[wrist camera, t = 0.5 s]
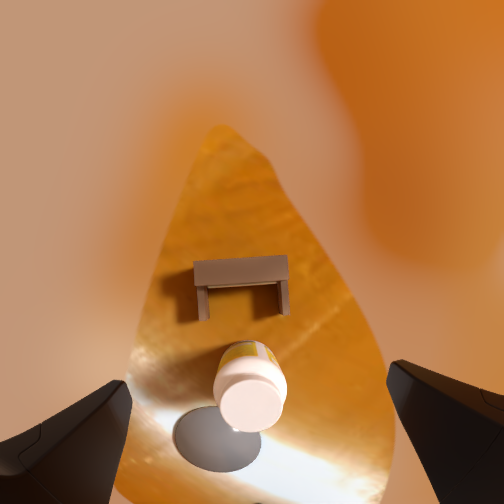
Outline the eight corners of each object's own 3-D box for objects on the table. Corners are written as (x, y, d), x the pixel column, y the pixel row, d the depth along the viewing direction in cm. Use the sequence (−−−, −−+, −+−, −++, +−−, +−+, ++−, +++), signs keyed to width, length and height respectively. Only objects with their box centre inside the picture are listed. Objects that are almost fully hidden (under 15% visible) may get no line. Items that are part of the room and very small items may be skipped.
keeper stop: (285, 312, 25) (293, 316, 21) (203, 318, 25) (196, 323, 21) (281, 260, 26) (288, 254, 22) (199, 265, 26) (192, 261, 22)
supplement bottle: (211, 377, 24) (194, 421, 15) (234, 330, 25) (229, 353, 15) (261, 399, 24) (270, 450, 14) (285, 353, 25) (309, 386, 15)
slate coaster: (228, 481, 22) (228, 482, 22) (161, 441, 23) (160, 443, 22) (278, 434, 23) (278, 435, 23) (206, 390, 24) (205, 391, 24)
